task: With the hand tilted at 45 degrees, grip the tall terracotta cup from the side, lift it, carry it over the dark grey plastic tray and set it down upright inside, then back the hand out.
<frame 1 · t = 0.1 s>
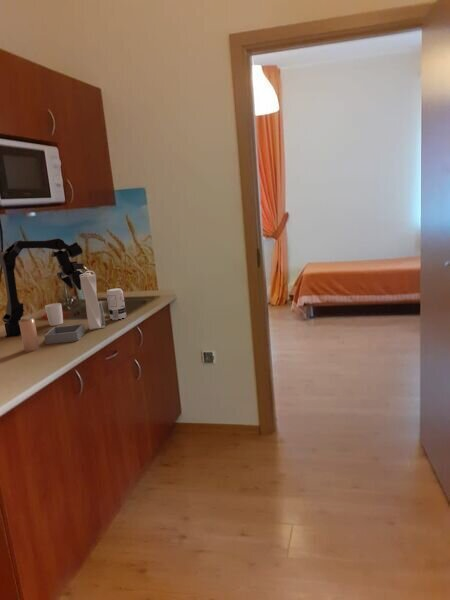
hand: (76, 289, 249), 15 cm above the countertop, tool pointing down, fingers open, 9 cm apart
skyscraper: (96, 328, 228), on the countertop
white cup: (56, 324, 244), on the countertop
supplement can: (118, 318, 243), on the countertop
tray: (66, 337, 215), on the countertop
cup: (31, 349, 202), on the countertop
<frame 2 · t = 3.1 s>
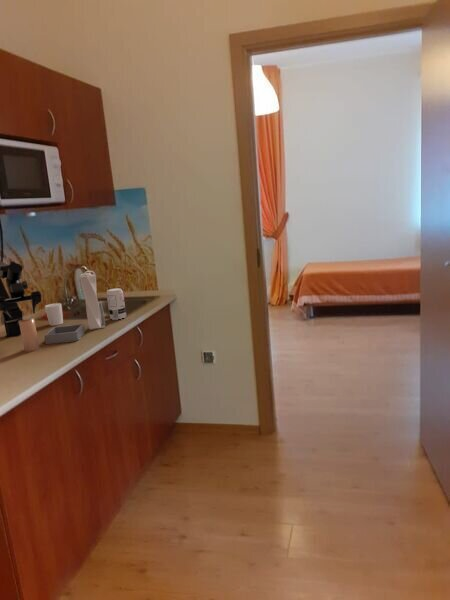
hand: (23, 315, 206), 14 cm above the countertop, tool tilted 45°, fingers open, 9 cm apart
nothing on the countertop moved.
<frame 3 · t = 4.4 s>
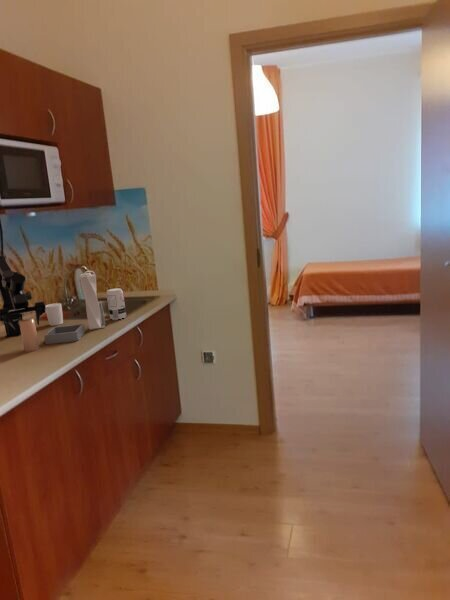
hand: (27, 326, 202), 10 cm above the countertop, tool tilted 45°, fingers open, 9 cm apart
nothing on the countertop moved.
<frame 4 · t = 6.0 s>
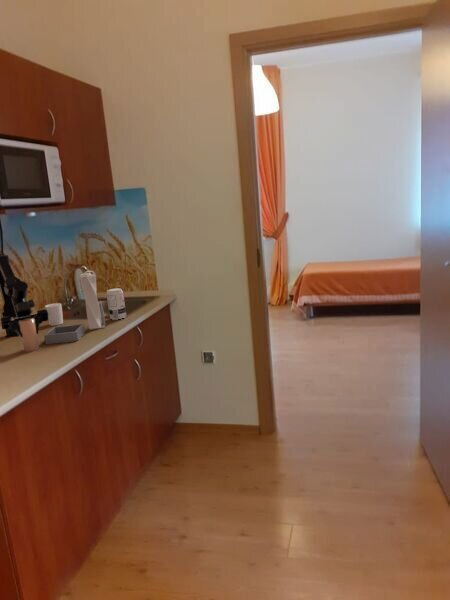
hand: (29, 335, 199), 7 cm above the countertop, tool tilted 45°, fingers closed on cup, 6 cm apart
cup: (31, 349, 202), on the countertop, touching gripper
everything else where it was.
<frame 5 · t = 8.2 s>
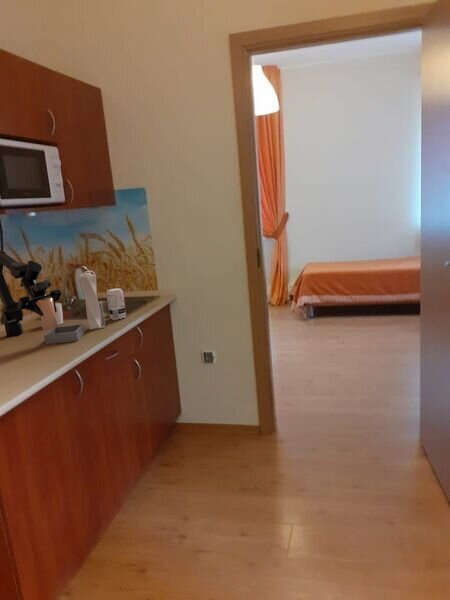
hand: (49, 313, 205), 13 cm above the countertop, tool tilted 45°, fingers closed on cup, 6 cm apart
cup: (50, 328, 207), point 7 cm above the countertop, touching gripper
everything else where it was.
when the fingers open (9 cm above the countertop, at t = 10.4 s): cup drops 1 cm, resting on tray.
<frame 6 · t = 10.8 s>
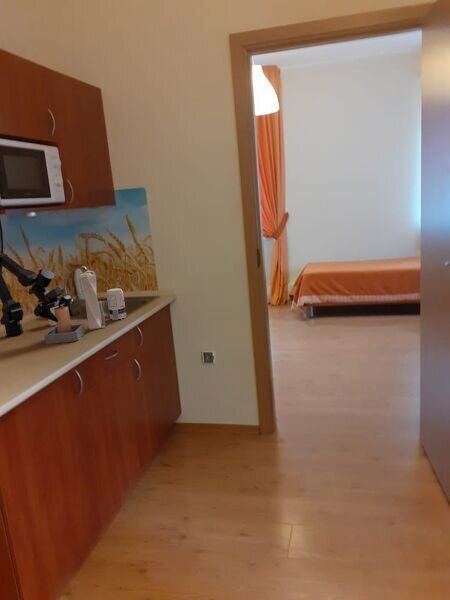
hand: (65, 318, 212), 9 cm above the countertop, tool tilted 45°, fingers open, 9 cm apart
cup: (65, 335, 215), point 1 cm above the countertop, touching tray
everything else where it was.
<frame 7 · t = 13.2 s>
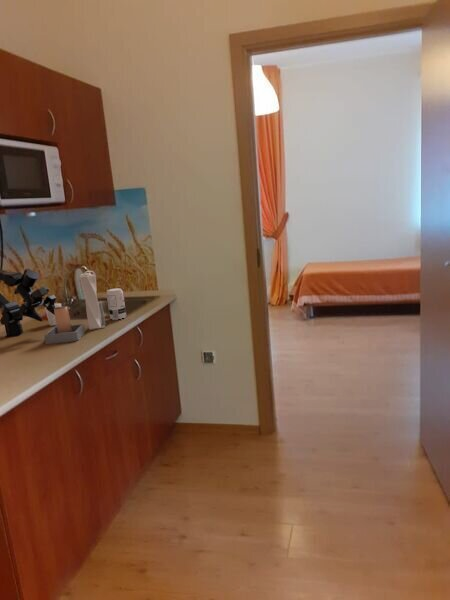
hand: (49, 318, 216), 9 cm above the countertop, tool tilted 45°, fingers open, 9 cm apart
nothing on the countertop moved.
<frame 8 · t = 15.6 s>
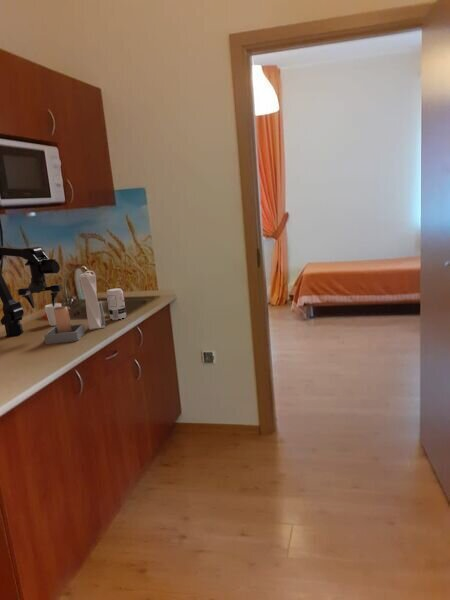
hand: (43, 307, 221), 13 cm above the countertop, tool pointing down, fingers open, 9 cm apart
nothing on the countertop moved.
at the end: cup inside the target area on the tray (0.1 cm from its centre), point 1.0 cm above the tray's base; cup tilted 1°; the gripper is holding nothing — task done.
